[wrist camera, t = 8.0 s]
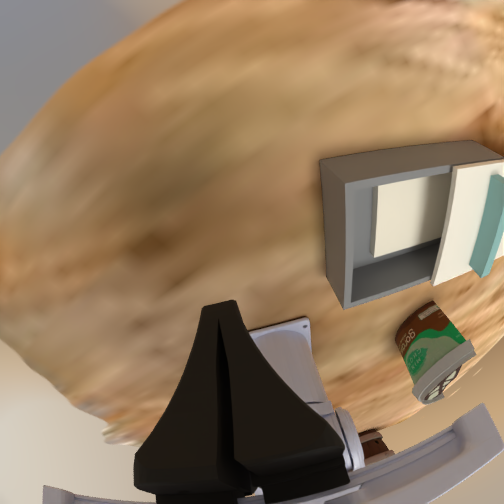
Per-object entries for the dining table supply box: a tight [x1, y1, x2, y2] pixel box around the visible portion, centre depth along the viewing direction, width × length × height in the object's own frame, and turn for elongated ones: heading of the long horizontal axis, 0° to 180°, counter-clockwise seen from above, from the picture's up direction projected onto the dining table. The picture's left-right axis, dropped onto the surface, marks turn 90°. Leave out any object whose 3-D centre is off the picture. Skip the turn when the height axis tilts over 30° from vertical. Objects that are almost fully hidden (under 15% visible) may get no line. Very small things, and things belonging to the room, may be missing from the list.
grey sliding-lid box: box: [319, 140, 504, 310], centre depth 21 cm, size 11×16×4 cm
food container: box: [395, 301, 476, 405], centre depth 31 cm, size 12×6×10 cm, turn 10°
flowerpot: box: [358, 430, 395, 467], centre depth 58 cm, size 14×15×20 cm
